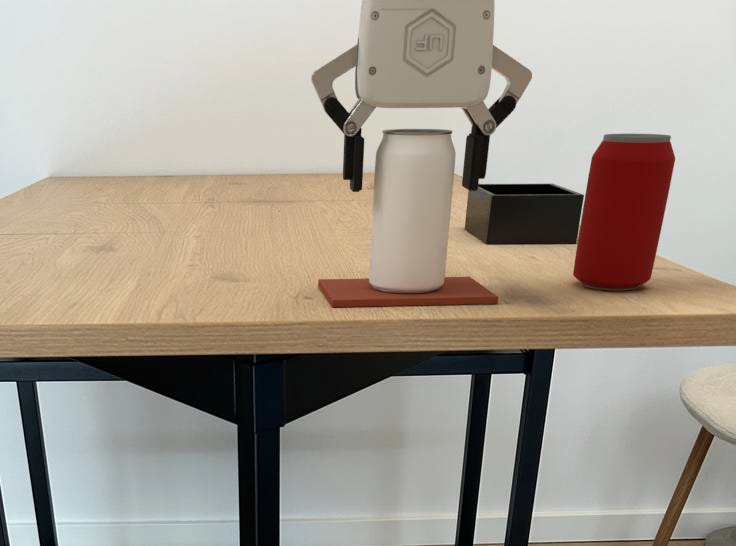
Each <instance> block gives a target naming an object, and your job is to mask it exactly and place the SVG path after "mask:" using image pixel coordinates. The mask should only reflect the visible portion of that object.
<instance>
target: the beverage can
mask: <svg viewBox="0 0 736 546" xmlns="http://www.w3.org/2000/svg"><path fill="white" fill-rule="evenodd" d="M671 138H672V137H671V135H669V134H660V133H659V134H658V133H657V134H656V133H606V134H604V135H603V138H602V141H601V142H600V144H599V145H598V147H596V149H595V150H594V153H593V154H592V156H591V160H590V165H589V171H588V178H587V183H586V188H585V194H584V199H583V205H582V211H581V218H580V224H579V230H578V236H577V243H576V244H577V245H576V250H575V257H574V264H573V272H572V275H573V278H575V279H576V280H577V281H579V283H581V285H582V286H583V287H585V288H590V289H592V290H601V291H611V292H612V291H613V292H615V291H617V292H619V291H633V290H636V289H638V288H639V287H640V286H642V285H644V284H646V283H647V282H649V281H650V280H651V279H652V275H653V270H654V265H655V261H656V256H657V251H658V246H659V242H660V236H661V232H662V228H663V223H664V218H665V213H666V208H667V203H668V198H669V193H670V190H671V189H670V188H671V184H672V179H673V173H674V169H675V168H674V167H675V162H676V156H675V153H674V149H673V146H672V142H671Z"/></svg>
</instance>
